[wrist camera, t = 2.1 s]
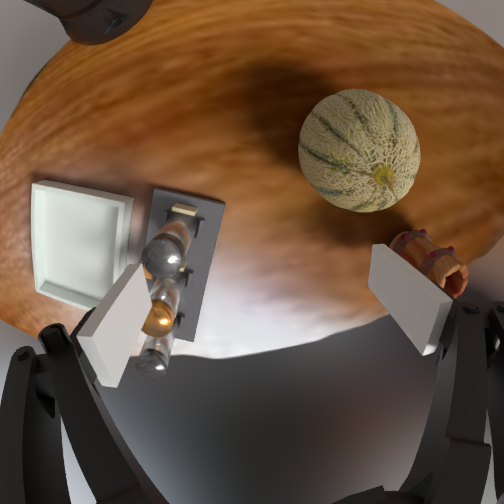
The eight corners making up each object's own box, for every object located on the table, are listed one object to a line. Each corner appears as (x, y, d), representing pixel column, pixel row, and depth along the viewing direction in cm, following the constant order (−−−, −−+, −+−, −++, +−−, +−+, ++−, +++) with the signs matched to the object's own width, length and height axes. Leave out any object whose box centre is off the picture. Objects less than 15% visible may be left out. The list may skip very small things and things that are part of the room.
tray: (45, 282, 40) (36, 291, 37) (44, 179, 34) (32, 183, 30) (123, 308, 43) (117, 320, 40) (134, 197, 36) (125, 202, 33)
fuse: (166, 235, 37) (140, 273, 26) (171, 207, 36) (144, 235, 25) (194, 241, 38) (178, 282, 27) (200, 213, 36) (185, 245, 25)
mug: (424, 220, 40) (483, 253, 26) (422, 262, 43) (472, 304, 29) (352, 234, 40) (401, 278, 26) (353, 280, 43) (394, 335, 30)
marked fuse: (159, 283, 40) (136, 332, 29) (162, 259, 39) (137, 304, 27) (184, 290, 41) (169, 341, 29) (189, 266, 39) (173, 313, 28)
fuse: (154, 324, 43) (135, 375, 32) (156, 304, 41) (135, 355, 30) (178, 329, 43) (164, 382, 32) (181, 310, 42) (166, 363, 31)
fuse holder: (140, 323, 44) (133, 337, 41) (156, 187, 36) (148, 192, 32) (194, 336, 46) (191, 351, 42) (225, 203, 38) (224, 209, 34)
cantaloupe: (361, 88, 32) (421, 68, 18) (393, 178, 37) (457, 199, 23) (269, 118, 33) (291, 101, 20) (310, 213, 39) (349, 253, 25)
